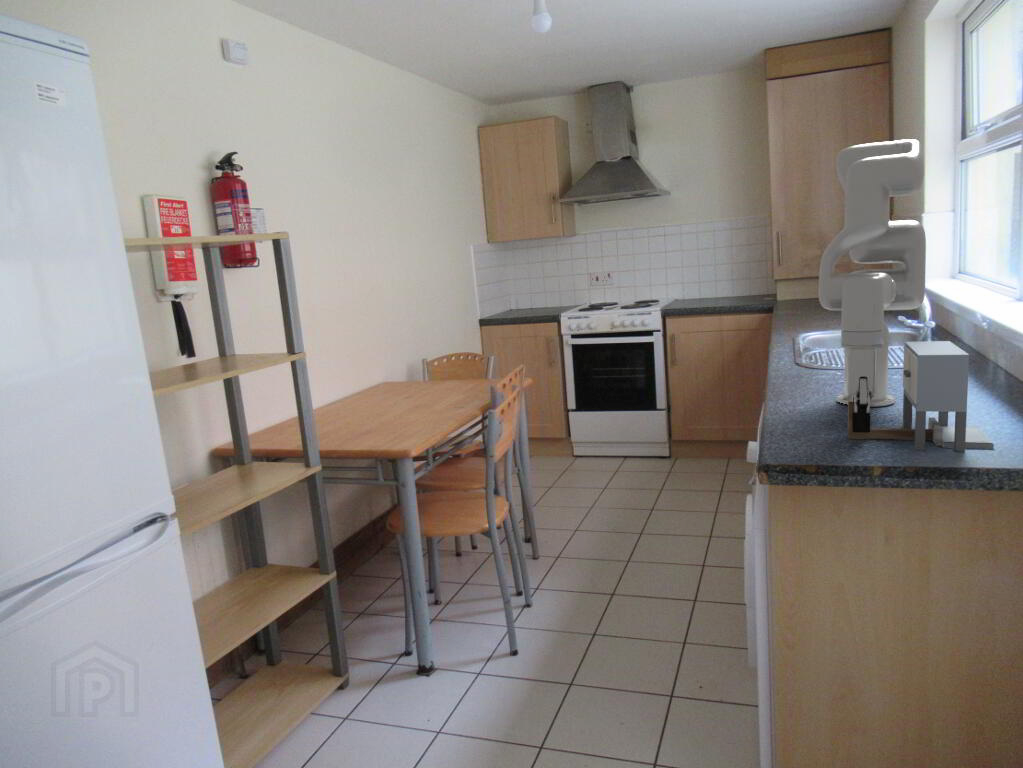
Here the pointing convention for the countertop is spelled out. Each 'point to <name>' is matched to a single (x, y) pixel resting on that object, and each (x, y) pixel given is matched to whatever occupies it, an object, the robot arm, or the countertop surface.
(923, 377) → the cabinet
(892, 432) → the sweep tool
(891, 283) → the robot arm
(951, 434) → the hard drive
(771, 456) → the countertop surface
